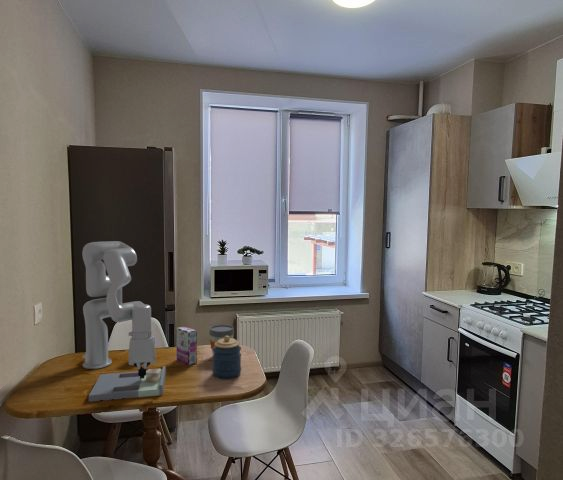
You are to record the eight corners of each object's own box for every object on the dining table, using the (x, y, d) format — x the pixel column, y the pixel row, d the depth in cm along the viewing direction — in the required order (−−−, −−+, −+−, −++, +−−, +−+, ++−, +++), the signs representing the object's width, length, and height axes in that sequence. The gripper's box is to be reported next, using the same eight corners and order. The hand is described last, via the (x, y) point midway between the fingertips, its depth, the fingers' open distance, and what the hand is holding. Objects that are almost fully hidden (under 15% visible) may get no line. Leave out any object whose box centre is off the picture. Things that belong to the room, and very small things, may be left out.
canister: (216, 381, 168) (216, 341, 167) (209, 370, 180) (209, 333, 179) (244, 376, 173) (245, 338, 172) (236, 366, 185) (236, 330, 184)
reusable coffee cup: (234, 352, 205) (234, 324, 204) (233, 361, 192) (233, 331, 191) (210, 352, 204) (210, 324, 203) (207, 361, 191) (207, 331, 190)
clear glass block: (146, 383, 160) (146, 373, 160) (148, 378, 165) (148, 369, 165) (158, 382, 161) (158, 373, 160) (160, 377, 166) (160, 368, 165)
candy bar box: (197, 363, 189) (197, 330, 188) (188, 365, 185) (188, 332, 185) (184, 357, 197) (184, 325, 196) (176, 360, 193) (175, 327, 192)
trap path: (88, 401, 149) (88, 391, 148) (100, 379, 169) (100, 371, 168) (162, 395, 155) (162, 385, 155) (165, 374, 175) (165, 366, 175)
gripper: (121, 338, 156) (121, 382, 157) (159, 336, 160) (160, 379, 161) (124, 332, 163) (125, 375, 164) (161, 330, 167) (161, 372, 168)
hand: (142, 377), depth 163 cm, fingers closed
